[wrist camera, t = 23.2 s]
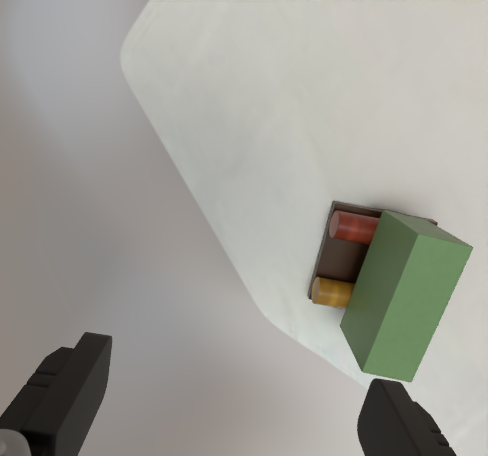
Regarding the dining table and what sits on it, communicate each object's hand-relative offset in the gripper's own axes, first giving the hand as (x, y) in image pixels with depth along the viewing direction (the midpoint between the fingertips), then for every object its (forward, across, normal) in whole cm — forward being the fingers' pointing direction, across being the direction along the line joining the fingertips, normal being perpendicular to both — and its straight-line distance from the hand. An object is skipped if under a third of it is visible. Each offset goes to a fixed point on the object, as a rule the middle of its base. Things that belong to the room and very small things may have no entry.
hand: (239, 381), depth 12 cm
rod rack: (+32, -17, +6) cm, 37 cm away
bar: (+28, -17, +6) cm, 34 cm away
